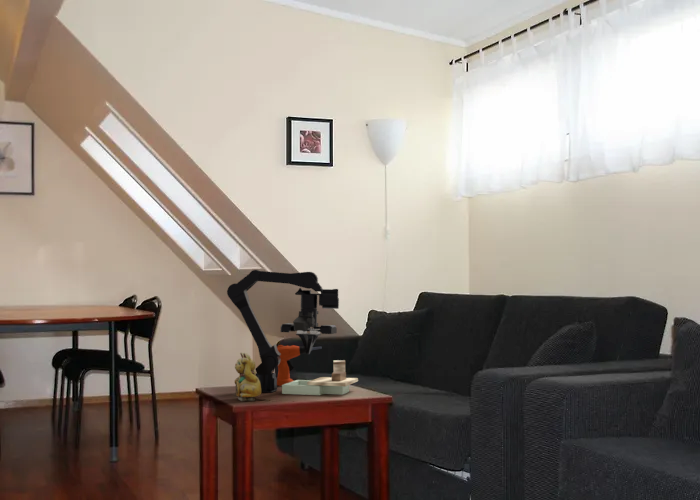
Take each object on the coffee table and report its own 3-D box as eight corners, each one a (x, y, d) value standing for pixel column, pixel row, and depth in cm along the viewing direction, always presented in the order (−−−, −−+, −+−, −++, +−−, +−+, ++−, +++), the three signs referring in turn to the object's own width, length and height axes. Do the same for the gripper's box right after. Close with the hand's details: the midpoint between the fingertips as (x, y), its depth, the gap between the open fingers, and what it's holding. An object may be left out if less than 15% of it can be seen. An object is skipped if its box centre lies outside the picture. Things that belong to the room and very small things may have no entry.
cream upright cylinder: (333, 390, 293) (333, 361, 294) (333, 389, 297) (333, 360, 298) (345, 390, 293) (345, 361, 294) (345, 389, 298) (345, 360, 298)
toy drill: (326, 381, 308) (320, 340, 308) (274, 388, 307) (268, 347, 307) (325, 379, 312) (320, 339, 313) (274, 386, 312) (269, 345, 312)
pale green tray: (282, 396, 279) (282, 384, 279) (297, 391, 293) (297, 379, 293) (339, 398, 273) (339, 387, 274) (352, 393, 287) (351, 381, 287)
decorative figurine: (231, 398, 276) (231, 351, 276) (256, 396, 279) (256, 350, 280) (240, 402, 267) (240, 354, 268) (265, 400, 271) (265, 353, 271)
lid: (307, 384, 277) (307, 374, 277) (321, 379, 290) (321, 369, 290) (345, 386, 273) (345, 375, 273) (358, 381, 286) (357, 370, 286)
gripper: (274, 308, 288) (273, 354, 287) (325, 309, 281) (325, 357, 281) (287, 307, 298) (286, 352, 298) (337, 308, 292) (336, 354, 291)
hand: (308, 354), depth 292 cm, fingers closed
